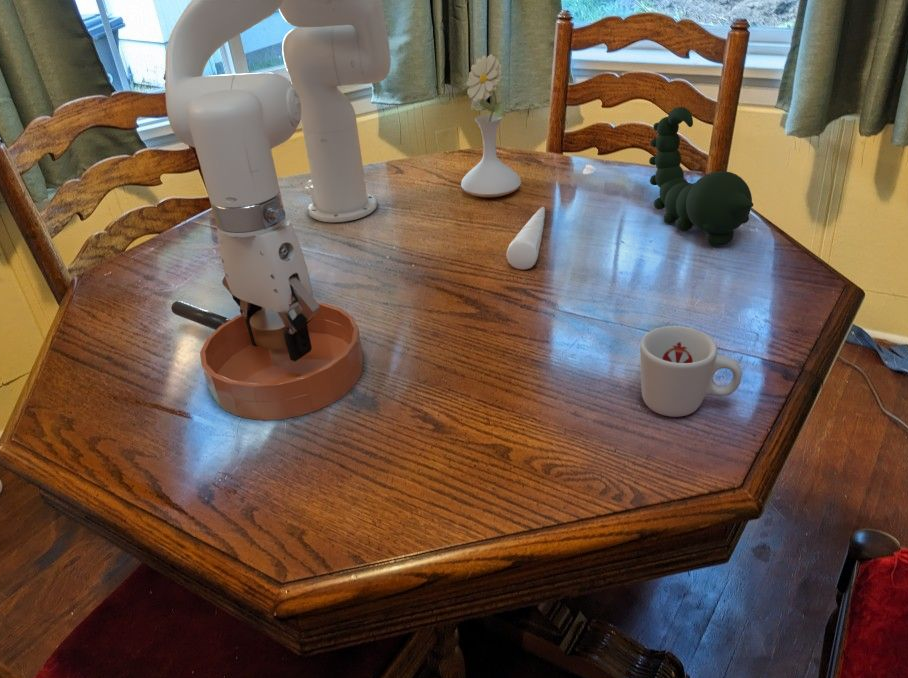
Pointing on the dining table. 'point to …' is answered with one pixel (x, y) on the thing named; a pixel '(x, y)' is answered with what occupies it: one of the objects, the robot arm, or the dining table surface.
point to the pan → (283, 368)
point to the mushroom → (272, 335)
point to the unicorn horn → (527, 243)
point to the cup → (681, 370)
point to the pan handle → (198, 315)
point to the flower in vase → (488, 135)
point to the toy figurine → (696, 188)
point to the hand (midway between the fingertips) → (281, 347)
